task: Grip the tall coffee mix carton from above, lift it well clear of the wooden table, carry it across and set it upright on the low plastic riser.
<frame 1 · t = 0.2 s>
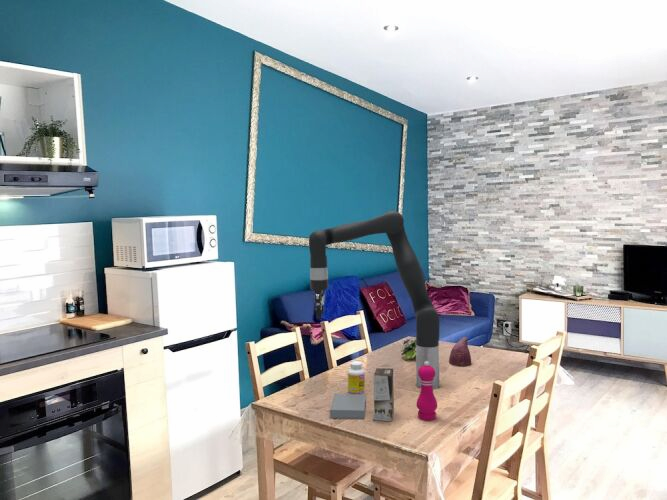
hand: (319, 316, 213), 29 cm above the table, tool pointing down, fingers open, 8 cm apart
coffee box: (384, 416, 181), on the table
supplement bottle: (356, 395, 202), on the table
pepper mill: (426, 417, 179), on the table
vegetable: (459, 364, 241), on the table
riser: (348, 409, 187), on the table
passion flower: (412, 358, 252), on the table
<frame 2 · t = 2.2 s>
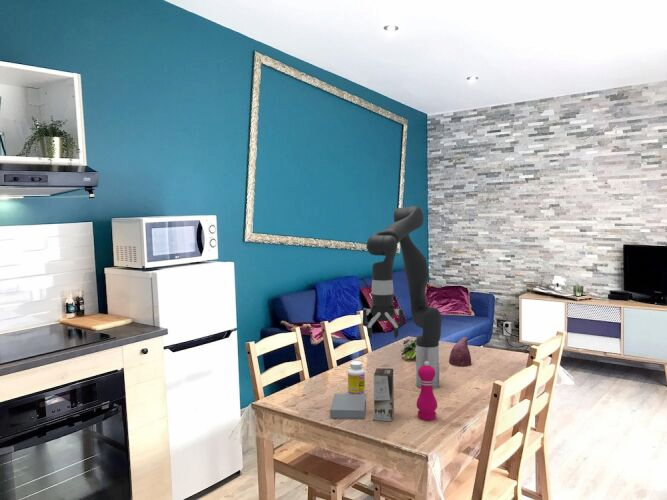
hand: (382, 337, 179), 28 cm above the table, tool pointing down, fingers open, 8 cm apart
nothing on the table moved.
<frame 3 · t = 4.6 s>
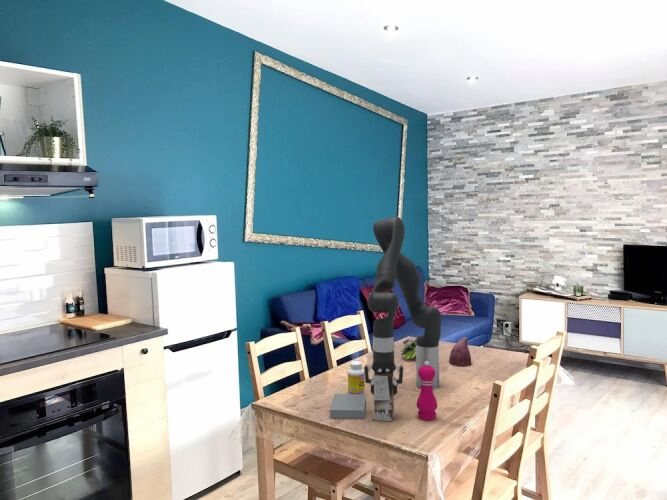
hand: (383, 394, 180), 8 cm above the table, tool pointing down, fingers closed on coffee box, 6 cm apart
coffee box: (384, 416, 181), on the table, touching gripper
everything else where it was.
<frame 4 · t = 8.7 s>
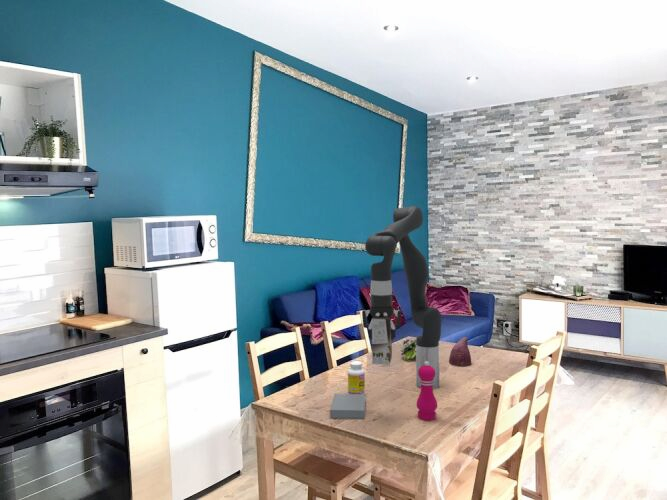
hand: (381, 339, 179), 28 cm above the table, tool pointing down, fingers closed on coffee box, 6 cm apart
coffee box: (382, 361, 179), point 20 cm above the table, touching gripper
everything else where it was.
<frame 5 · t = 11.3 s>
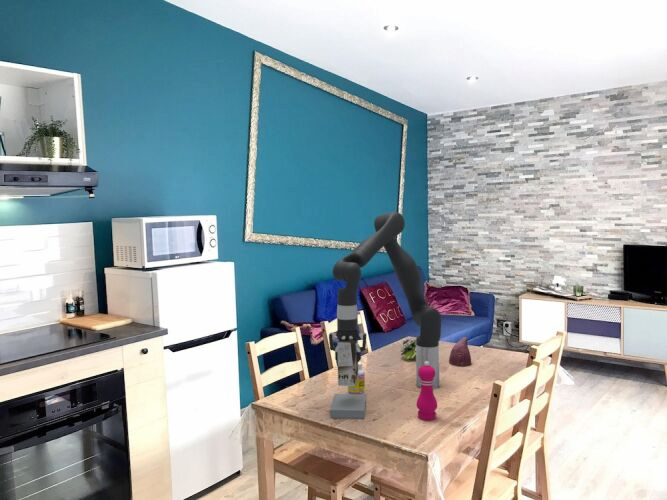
hand: (348, 361, 186), 18 cm above the table, tool pointing down, fingers closed on coffee box, 6 cm apart
coffee box: (348, 382, 186), point 10 cm above the table, touching gripper
everything else where it was.
when the fingers open (12 cm above the table, at t = 13.1 s): coffee box drops 1 cm, resting on riser.
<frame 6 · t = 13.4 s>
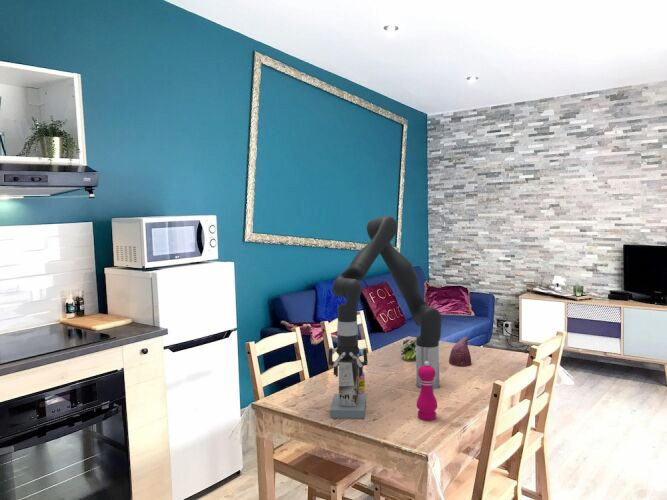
hand: (348, 376, 186), 13 cm above the table, tool pointing down, fingers open, 8 cm apart
coffee box: (349, 402, 187), point 3 cm above the table, touching riser
everything else where it was.
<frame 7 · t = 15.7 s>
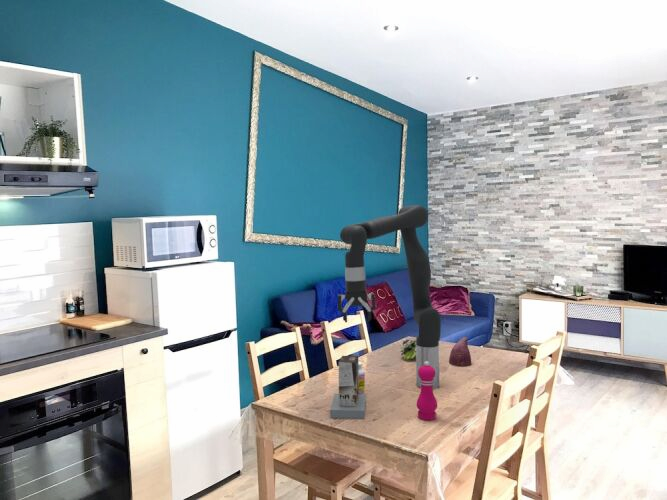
hand: (357, 321, 191), 31 cm above the table, tool pointing down, fingers open, 8 cm apart
nothing on the table moved.
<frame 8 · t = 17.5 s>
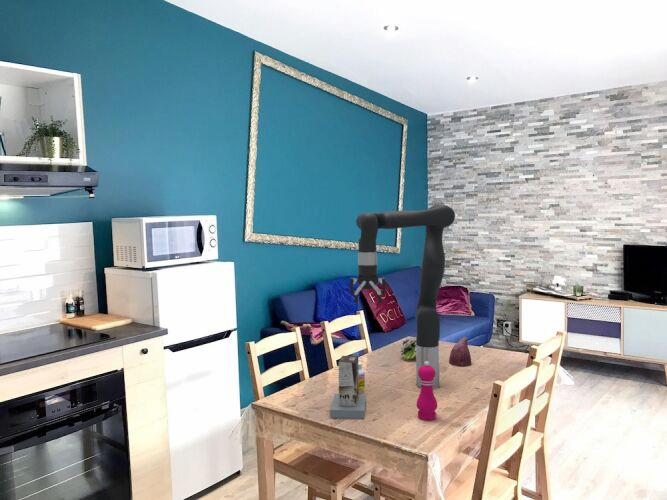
hand: (368, 304, 201), 36 cm above the table, tool pointing down, fingers open, 8 cm apart
nothing on the table moved.
at the end: coffee box inside the target area on the riser (0.2 cm from its centre), point 2.8 cm above the riser's base; coffee box tilted 0°; the gripper is holding nothing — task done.
